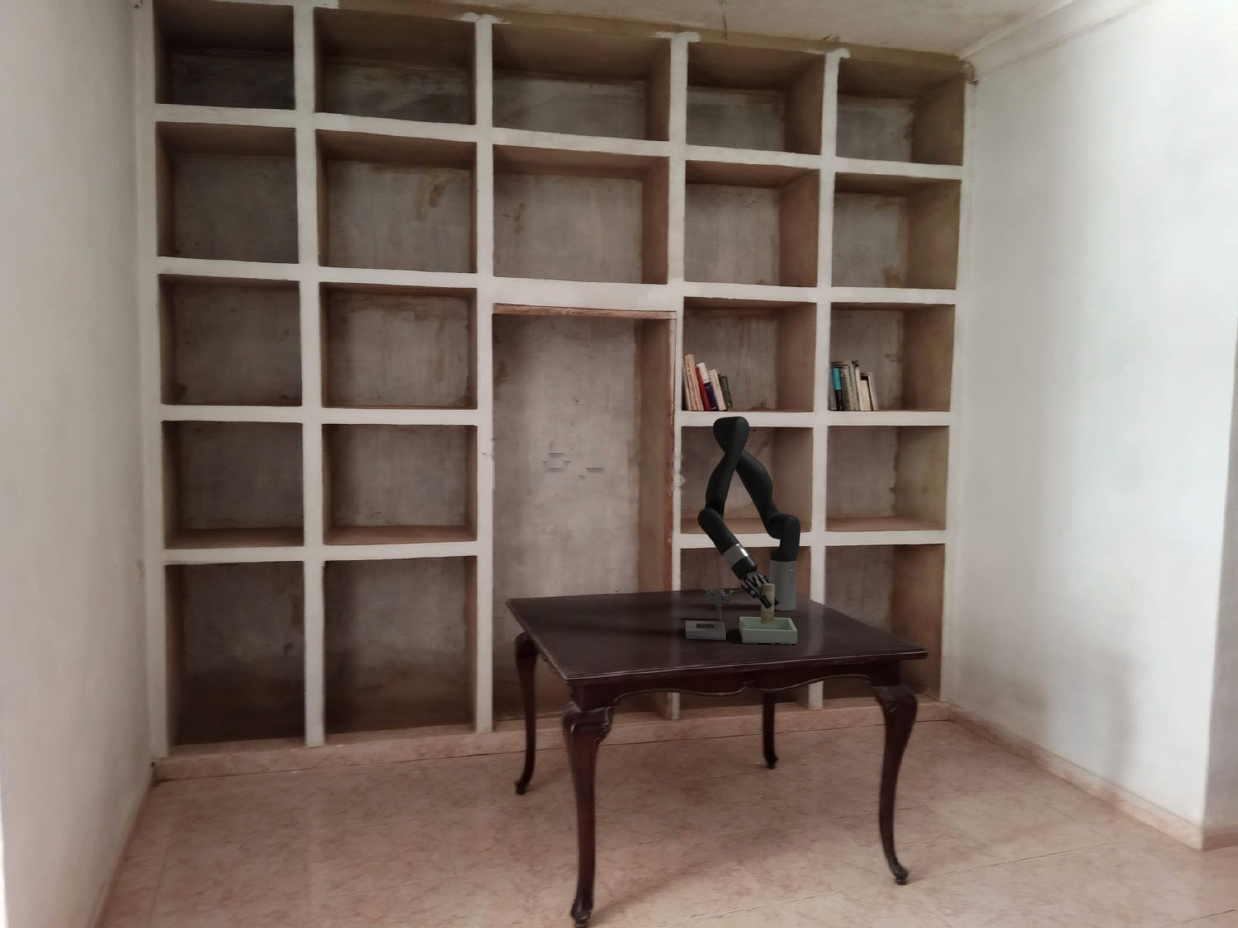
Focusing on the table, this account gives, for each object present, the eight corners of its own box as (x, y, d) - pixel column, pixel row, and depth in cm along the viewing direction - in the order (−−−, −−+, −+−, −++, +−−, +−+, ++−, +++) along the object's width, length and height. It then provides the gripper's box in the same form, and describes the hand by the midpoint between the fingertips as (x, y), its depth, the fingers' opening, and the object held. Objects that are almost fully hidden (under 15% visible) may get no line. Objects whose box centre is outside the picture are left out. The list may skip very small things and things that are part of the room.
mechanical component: (733, 621, 280) (734, 591, 279) (702, 619, 282) (703, 589, 281) (734, 618, 283) (734, 589, 282) (703, 617, 285) (704, 587, 284)
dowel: (759, 621, 263) (761, 583, 262) (772, 621, 263) (774, 583, 262) (761, 624, 259) (762, 585, 258) (774, 625, 259) (775, 586, 258)
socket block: (685, 628, 270) (685, 620, 270) (723, 629, 269) (723, 621, 269) (685, 638, 258) (685, 630, 258) (725, 639, 257) (725, 631, 257)
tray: (739, 629, 270) (739, 616, 270) (790, 630, 269) (790, 617, 269) (742, 642, 254) (743, 629, 254) (797, 644, 253) (797, 631, 253)
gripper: (735, 556, 259) (770, 602, 252) (759, 551, 270) (792, 594, 263) (720, 571, 263) (753, 617, 256) (744, 565, 274) (776, 609, 267)
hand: (773, 605), depth 260 cm, fingers closed on dowel, 4 cm apart
